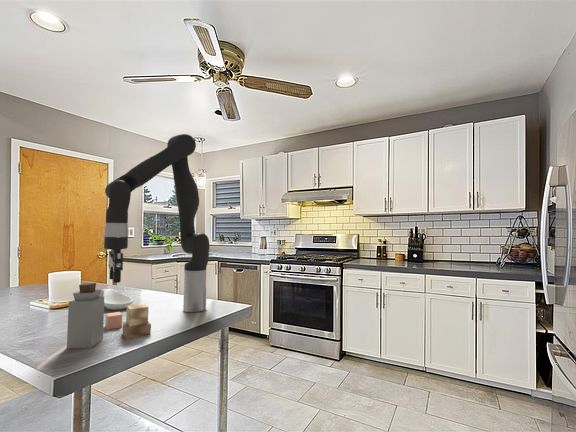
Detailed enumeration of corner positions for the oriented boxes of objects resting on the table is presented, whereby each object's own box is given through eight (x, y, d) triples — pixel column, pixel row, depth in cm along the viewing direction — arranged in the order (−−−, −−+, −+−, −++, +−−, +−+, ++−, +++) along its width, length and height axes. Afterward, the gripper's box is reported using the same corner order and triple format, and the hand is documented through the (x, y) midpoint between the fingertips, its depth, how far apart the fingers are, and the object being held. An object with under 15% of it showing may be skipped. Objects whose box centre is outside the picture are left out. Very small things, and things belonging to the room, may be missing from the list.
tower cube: (143, 319, 107) (144, 303, 107) (147, 323, 103) (148, 306, 103) (126, 322, 103) (126, 305, 104) (129, 326, 99) (130, 309, 99)
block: (119, 324, 114) (119, 311, 114) (121, 327, 110) (122, 314, 110) (105, 326, 111) (105, 313, 111) (107, 329, 107) (107, 316, 108)
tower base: (145, 330, 108) (145, 318, 108) (150, 336, 102) (150, 323, 102) (122, 334, 103) (123, 322, 104) (127, 340, 98) (127, 327, 98)
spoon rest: (138, 308, 137) (138, 291, 137) (110, 314, 127) (111, 296, 128) (112, 300, 150) (112, 285, 151) (85, 305, 141) (86, 289, 141)
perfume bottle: (80, 340, 97) (82, 282, 98) (102, 339, 98) (104, 282, 98) (66, 348, 90) (69, 286, 91) (91, 347, 91) (93, 285, 92)
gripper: (101, 235, 115) (100, 279, 115) (107, 236, 104) (105, 284, 103) (124, 235, 120) (122, 277, 119) (131, 236, 109) (130, 282, 108)
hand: (114, 280), depth 111 cm, fingers open, 8 cm apart
